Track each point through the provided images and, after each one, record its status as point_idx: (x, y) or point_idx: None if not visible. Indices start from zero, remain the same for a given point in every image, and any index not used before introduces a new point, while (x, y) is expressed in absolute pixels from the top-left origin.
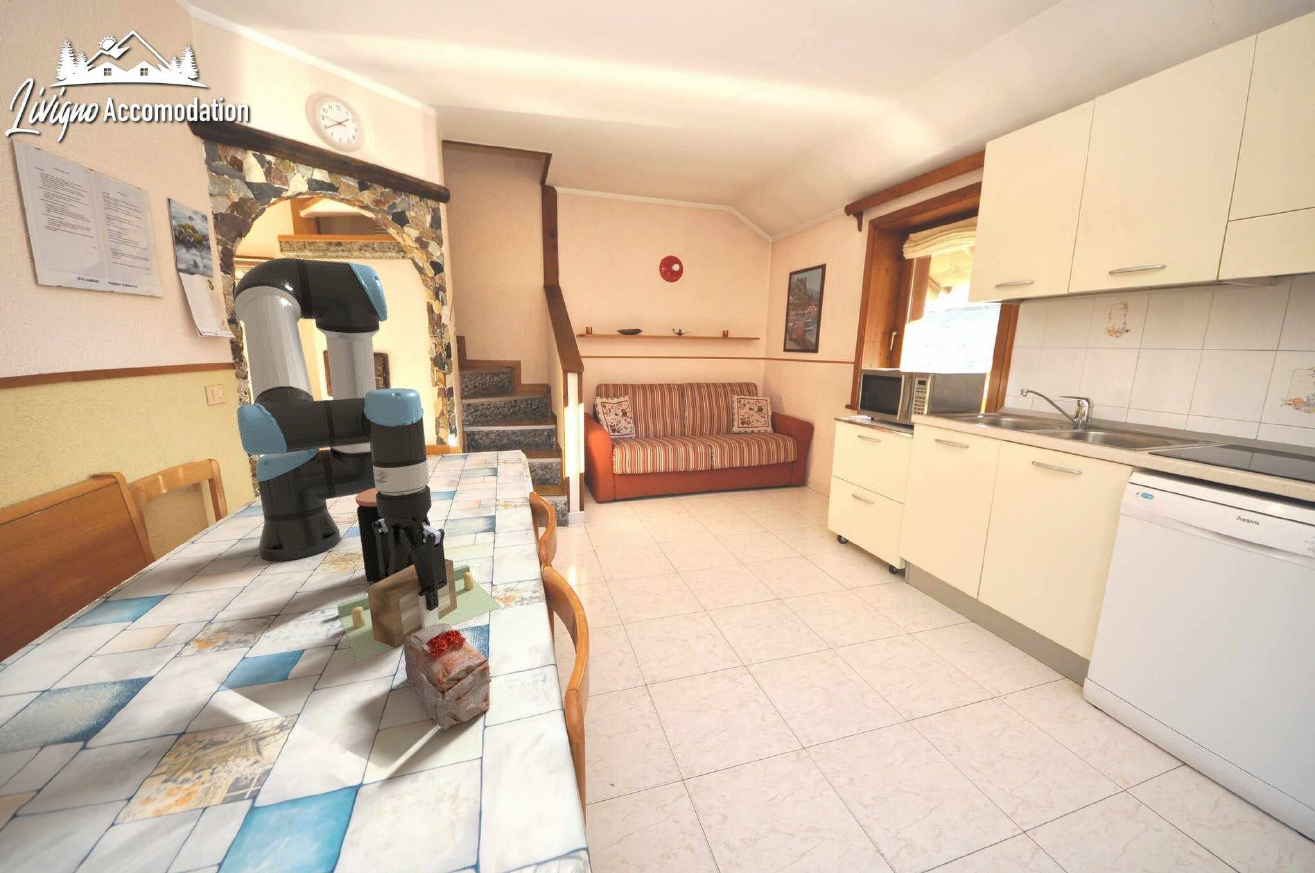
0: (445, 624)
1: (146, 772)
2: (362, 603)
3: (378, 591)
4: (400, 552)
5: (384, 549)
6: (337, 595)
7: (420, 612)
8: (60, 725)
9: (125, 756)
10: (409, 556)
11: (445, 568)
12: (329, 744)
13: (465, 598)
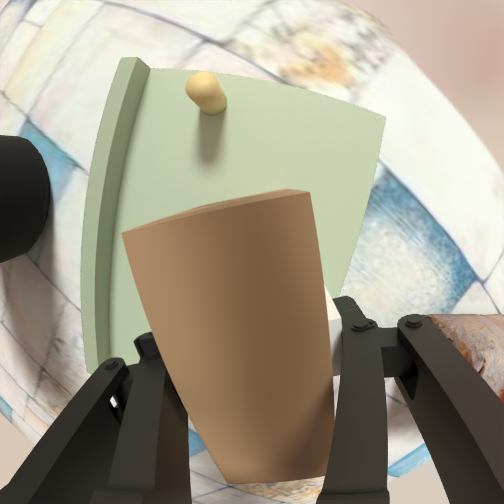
0: (486, 370)
1: (262, 498)
2: (100, 337)
3: (281, 480)
4: (178, 489)
5: (101, 484)
6: (26, 299)
7: None
8: None
9: (225, 498)
10: (3, 187)
11: (464, 358)
12: None
13: (258, 141)
